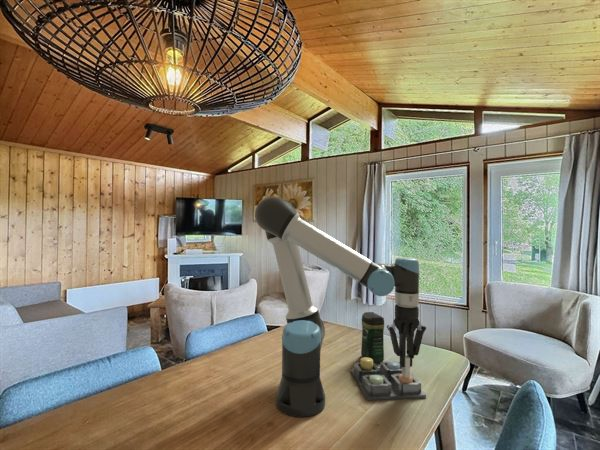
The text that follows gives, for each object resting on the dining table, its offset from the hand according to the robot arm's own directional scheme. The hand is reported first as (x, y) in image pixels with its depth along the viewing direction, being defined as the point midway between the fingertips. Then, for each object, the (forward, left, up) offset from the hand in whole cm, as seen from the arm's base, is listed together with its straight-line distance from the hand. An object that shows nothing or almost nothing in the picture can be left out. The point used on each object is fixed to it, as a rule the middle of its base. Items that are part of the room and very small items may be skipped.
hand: (405, 376), depth 106 cm
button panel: (-5, +5, -5) cm, 9 cm away
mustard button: (-10, +10, -1) cm, 14 cm away
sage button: (-10, 0, -3) cm, 11 cm away
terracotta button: (0, 0, -3) cm, 3 cm away
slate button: (0, +10, -3) cm, 11 cm away
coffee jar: (-3, +26, -5) cm, 26 cm away
